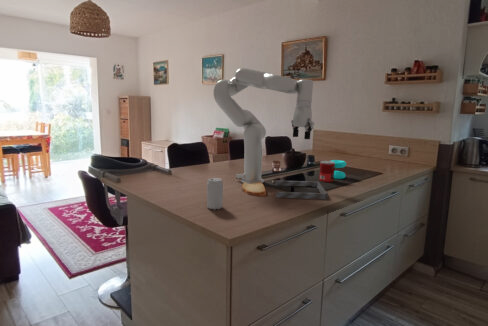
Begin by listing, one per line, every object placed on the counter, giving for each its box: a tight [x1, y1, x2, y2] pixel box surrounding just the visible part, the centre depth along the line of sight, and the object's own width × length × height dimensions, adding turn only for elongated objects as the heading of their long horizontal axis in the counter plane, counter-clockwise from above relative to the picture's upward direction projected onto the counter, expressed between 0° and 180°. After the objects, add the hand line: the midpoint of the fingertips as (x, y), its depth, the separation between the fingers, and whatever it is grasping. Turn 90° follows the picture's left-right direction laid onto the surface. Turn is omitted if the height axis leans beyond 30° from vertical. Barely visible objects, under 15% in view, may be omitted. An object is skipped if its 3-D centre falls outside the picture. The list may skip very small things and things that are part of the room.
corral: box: [274, 179, 329, 200], centre depth 162 cm, size 23×24×2 cm
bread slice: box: [241, 181, 267, 197], centre depth 163 cm, size 18×18×4 cm
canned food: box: [319, 160, 336, 183], centre depth 186 cm, size 8×8×11 cm
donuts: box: [330, 159, 347, 180], centre depth 195 cm, size 10×10×10 cm
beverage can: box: [206, 177, 224, 211], centre depth 133 cm, size 6×6×12 cm
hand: (301, 138), depth 169 cm, fingers open, 9 cm apart
